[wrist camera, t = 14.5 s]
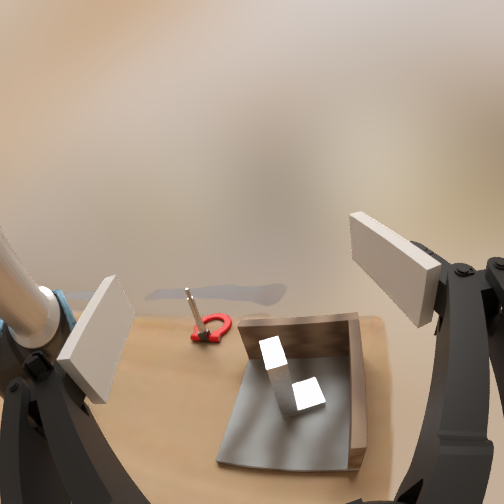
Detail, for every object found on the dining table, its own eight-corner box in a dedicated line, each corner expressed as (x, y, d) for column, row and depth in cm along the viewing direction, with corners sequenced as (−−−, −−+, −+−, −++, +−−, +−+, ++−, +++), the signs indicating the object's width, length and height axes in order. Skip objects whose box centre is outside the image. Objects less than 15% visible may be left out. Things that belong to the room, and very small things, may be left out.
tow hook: (204, 316, 64) (188, 342, 56) (187, 269, 59) (166, 291, 51) (236, 316, 61) (223, 344, 53) (222, 266, 56) (204, 290, 48)
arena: (217, 462, 29) (192, 437, 25) (252, 356, 48) (239, 320, 44) (359, 470, 23) (366, 447, 20) (357, 351, 42) (357, 312, 39)
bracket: (282, 418, 33) (266, 369, 28) (275, 393, 38) (259, 341, 33) (325, 405, 33) (321, 352, 29) (315, 381, 38) (308, 326, 33)
